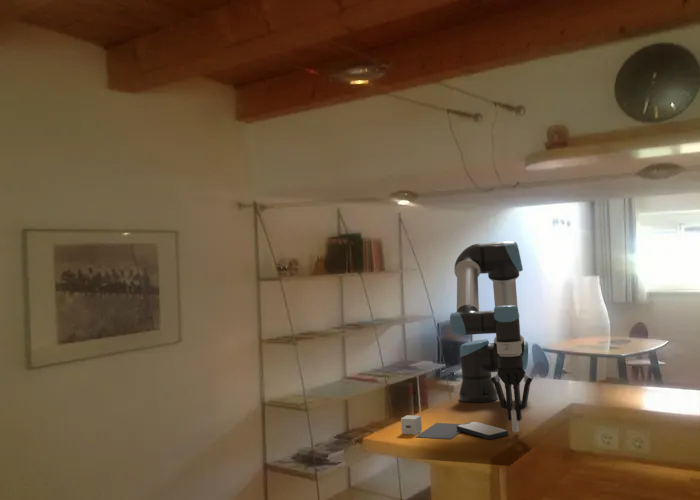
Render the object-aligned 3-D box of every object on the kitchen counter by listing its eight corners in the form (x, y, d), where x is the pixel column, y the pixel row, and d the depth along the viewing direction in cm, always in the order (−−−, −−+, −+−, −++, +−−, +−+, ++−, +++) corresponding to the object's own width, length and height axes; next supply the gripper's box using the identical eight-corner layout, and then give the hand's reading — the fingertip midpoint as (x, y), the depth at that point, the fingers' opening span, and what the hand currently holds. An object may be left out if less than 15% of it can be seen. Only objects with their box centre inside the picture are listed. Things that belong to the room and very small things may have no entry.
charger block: (408, 430, 213) (406, 415, 213) (421, 431, 211) (420, 415, 211) (401, 434, 209) (400, 418, 209) (416, 434, 206) (414, 419, 206)
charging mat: (436, 423, 220) (436, 422, 220) (470, 424, 214) (469, 424, 214) (415, 437, 203) (415, 436, 203) (451, 439, 198) (451, 438, 198)
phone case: (510, 435, 198) (475, 425, 212) (510, 430, 198) (475, 420, 212) (489, 440, 193) (454, 430, 207) (488, 435, 194) (454, 425, 207)
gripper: (485, 356, 198) (492, 432, 197) (528, 356, 192) (534, 435, 191) (492, 353, 205) (498, 427, 204) (533, 353, 199) (539, 429, 198)
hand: (516, 430), depth 198 cm, fingers closed
